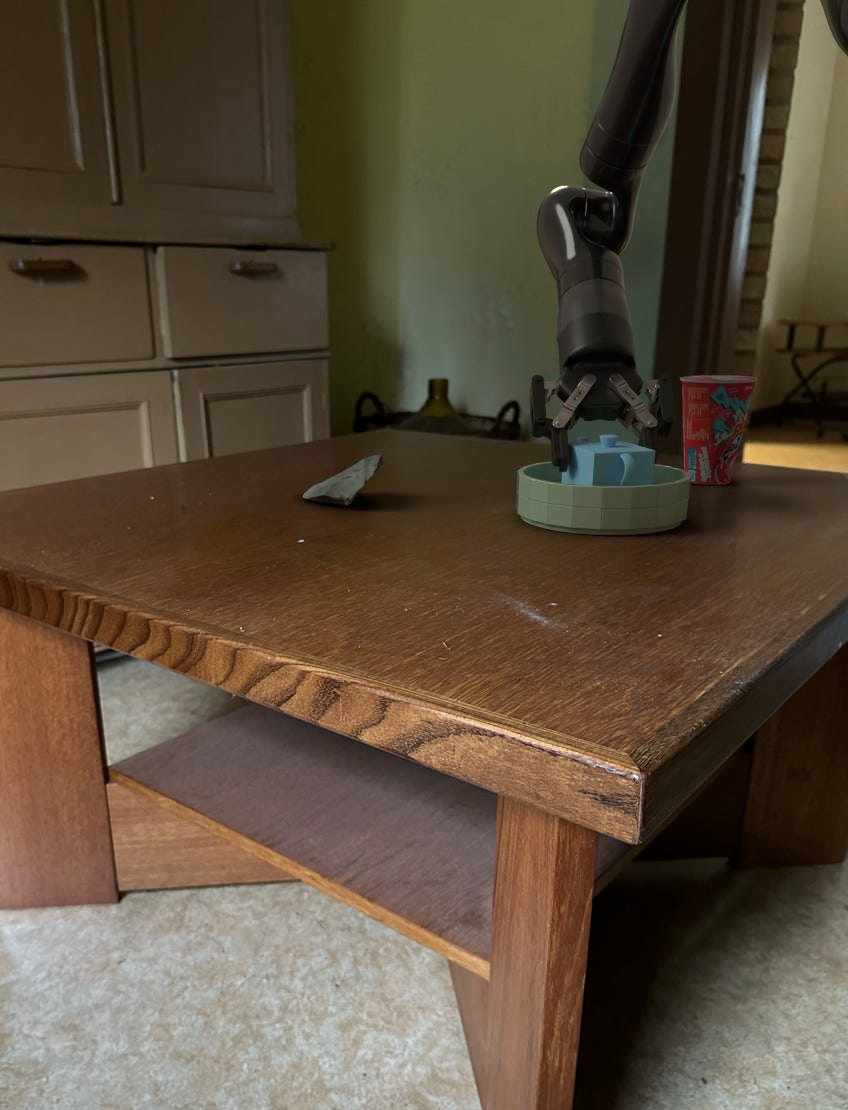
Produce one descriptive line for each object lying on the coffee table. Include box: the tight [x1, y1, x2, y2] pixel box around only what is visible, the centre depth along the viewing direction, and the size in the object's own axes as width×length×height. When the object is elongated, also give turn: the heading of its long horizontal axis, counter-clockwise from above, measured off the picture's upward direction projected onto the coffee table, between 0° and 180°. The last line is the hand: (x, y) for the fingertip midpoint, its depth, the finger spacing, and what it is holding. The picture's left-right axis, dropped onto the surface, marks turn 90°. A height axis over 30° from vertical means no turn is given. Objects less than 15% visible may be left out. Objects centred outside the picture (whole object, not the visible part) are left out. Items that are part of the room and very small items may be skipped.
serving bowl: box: [515, 460, 692, 536], centre depth 90 cm, size 16×16×4 cm
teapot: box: [562, 434, 655, 486], centre depth 89 cm, size 12×6×8 cm, turn 11°
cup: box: [679, 374, 759, 486], centre depth 107 cm, size 9×8×12 cm
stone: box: [302, 454, 384, 507], centre depth 100 cm, size 11×4×10 cm
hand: (605, 467), depth 88 cm, fingers closed on teapot, 7 cm apart
